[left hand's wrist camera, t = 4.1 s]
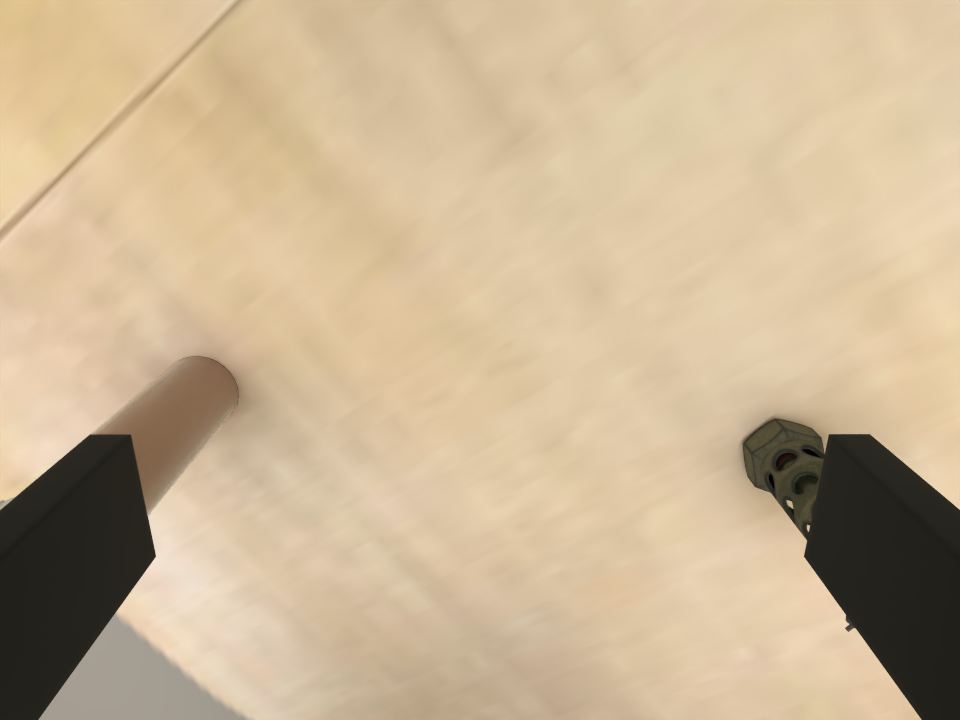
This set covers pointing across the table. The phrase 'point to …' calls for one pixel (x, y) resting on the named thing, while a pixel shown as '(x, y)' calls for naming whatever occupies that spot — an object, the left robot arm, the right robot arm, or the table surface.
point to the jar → (174, 421)
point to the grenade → (787, 468)
